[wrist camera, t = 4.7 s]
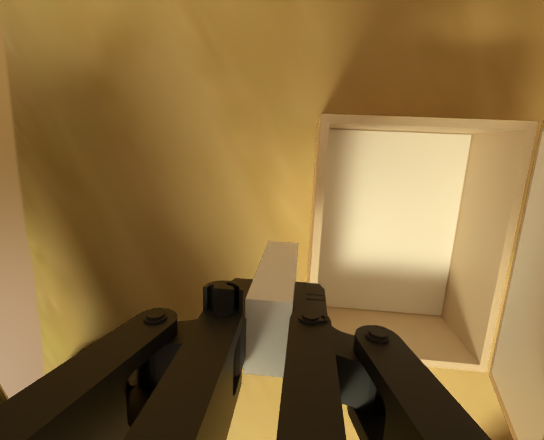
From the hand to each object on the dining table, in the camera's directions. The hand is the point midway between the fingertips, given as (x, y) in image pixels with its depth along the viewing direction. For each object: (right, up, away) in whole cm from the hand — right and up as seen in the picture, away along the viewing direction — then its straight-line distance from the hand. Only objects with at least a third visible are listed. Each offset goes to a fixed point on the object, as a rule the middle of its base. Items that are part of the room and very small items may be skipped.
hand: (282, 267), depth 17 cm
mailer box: (+9, +2, +11) cm, 14 cm away
